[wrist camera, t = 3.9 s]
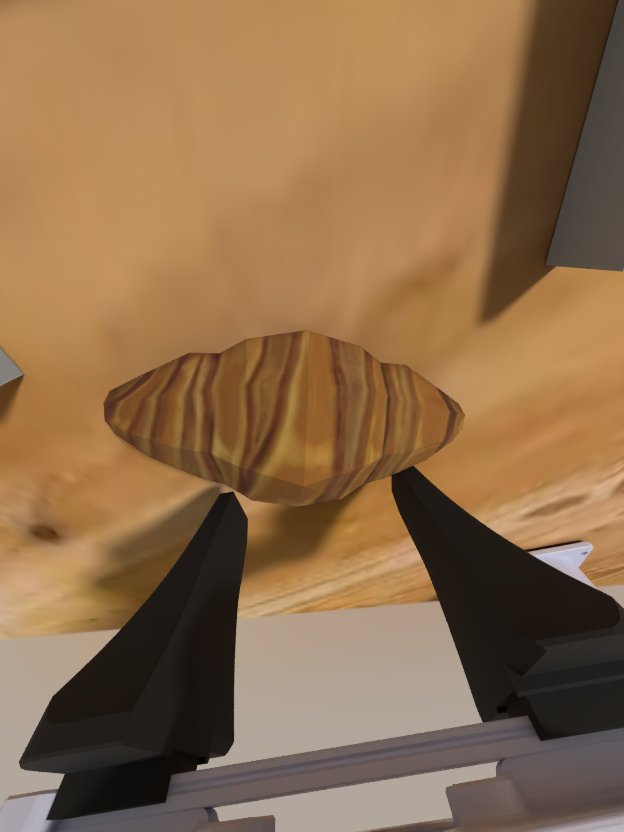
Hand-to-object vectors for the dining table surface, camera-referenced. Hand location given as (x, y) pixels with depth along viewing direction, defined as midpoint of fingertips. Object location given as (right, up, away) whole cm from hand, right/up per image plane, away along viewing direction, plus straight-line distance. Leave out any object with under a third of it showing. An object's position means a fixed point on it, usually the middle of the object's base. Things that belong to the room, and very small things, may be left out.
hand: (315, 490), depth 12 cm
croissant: (-1, +4, -1) cm, 4 cm away
